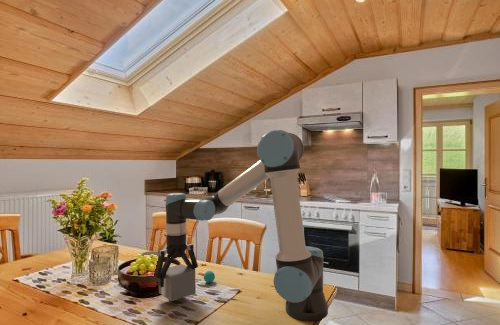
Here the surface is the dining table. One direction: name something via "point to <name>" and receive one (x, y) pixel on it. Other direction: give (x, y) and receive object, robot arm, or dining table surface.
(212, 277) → the ball
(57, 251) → the dining table surface
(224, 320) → the dining table surface
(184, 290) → the matte grey cube
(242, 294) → the dining table surface
